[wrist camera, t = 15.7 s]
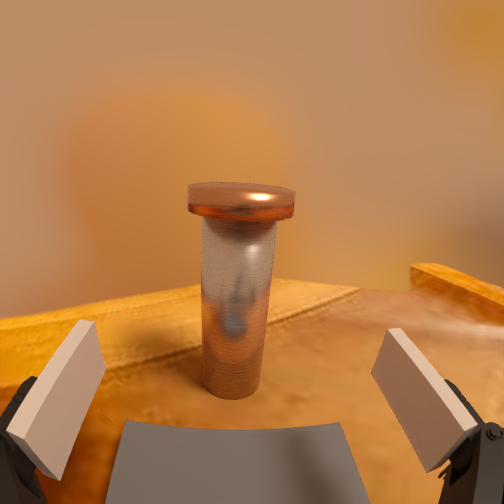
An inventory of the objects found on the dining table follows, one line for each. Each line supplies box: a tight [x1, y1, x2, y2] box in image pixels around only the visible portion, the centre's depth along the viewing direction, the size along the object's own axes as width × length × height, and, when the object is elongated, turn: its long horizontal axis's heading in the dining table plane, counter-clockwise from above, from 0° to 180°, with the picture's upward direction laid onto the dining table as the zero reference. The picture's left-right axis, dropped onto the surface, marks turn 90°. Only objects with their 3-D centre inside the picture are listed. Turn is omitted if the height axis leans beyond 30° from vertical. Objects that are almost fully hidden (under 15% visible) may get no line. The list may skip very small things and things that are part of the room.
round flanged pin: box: [187, 182, 295, 400], centre depth 21 cm, size 7×7×16 cm
